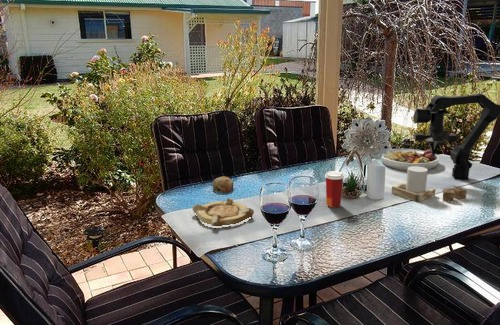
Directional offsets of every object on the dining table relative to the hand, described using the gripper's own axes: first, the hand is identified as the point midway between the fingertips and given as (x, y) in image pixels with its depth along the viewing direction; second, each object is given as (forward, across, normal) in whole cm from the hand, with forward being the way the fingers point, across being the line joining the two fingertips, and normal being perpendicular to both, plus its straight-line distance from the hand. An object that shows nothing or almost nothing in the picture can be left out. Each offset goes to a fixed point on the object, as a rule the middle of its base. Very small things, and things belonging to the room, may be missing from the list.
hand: (433, 154), depth 205 cm
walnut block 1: (+12, +1, -29) cm, 31 cm away
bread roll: (+12, -98, -28) cm, 103 cm away
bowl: (+12, -7, +24) cm, 28 cm away
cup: (+12, -12, -25) cm, 30 cm away
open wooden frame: (+12, -12, -24) cm, 29 cm away
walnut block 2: (+12, +6, -26) cm, 29 cm away
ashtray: (+13, -90, -60) cm, 109 cm away
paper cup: (+12, -47, -42) cm, 64 cm away
